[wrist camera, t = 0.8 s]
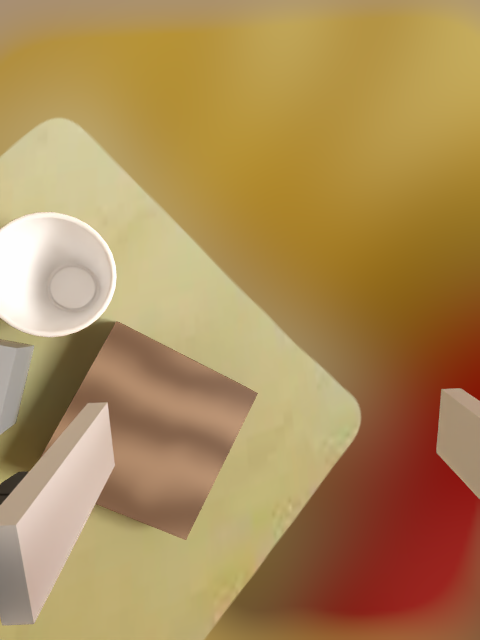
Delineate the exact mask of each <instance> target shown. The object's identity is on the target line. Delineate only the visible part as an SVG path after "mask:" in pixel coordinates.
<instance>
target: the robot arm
mask: <svg viewBox="0 0 480 640" xmlns="http://www.w3.org/2000/svg"><path fill="white" fill-rule="evenodd" d="M437 454H438V455H439V456H440V457H441V458H442V459H443V460H444V461H445V462H446V463H447V464H448V466H449V467H450V468H451V469H452V470H453V471H454V472H455V473H456V474H457V475H458V476H459V477H460V478H461V480H462V481H463V482H464V483H465V484H466V485H467V486H468V487H469V488H470V489H471V490H472V491H473V492H474V493H475V495H476V496H477V497H478V498H479V499H480V401H478V400H477V399H476V398H474V397H473V396H471V395H470V394H468V393H467V392H465V391H464V390H462V389H442V390H441V401H440V415H439V426H438V439H437ZM114 466H115V463H114V454H113V446H112V437H111V428H110V420H109V411H108V402H104V403H88V404H87V405H86V406H85V407H84V408H83V409H82V411H81V412H80V413H79V414H78V415H77V416H76V418H75V419H74V420H73V421H72V422H71V423H70V425H69V426H68V427H67V428H66V429H65V430H64V432H63V433H62V434H61V435H60V436H59V437H58V439H57V440H56V441H55V442H54V443H53V444H52V446H51V447H50V448H49V449H48V450H47V451H46V453H45V454H44V455H43V456H42V457H41V458H40V460H39V461H38V462H37V463H36V464H35V465H34V467H33V468H32V469H31V470H30V471H29V472H18V473H16V474H15V475H13V476H12V477H10V478H8V479H7V480H5V481H4V482H2V483H1V484H0V617H1V622H2V625H21V624H34V623H35V621H36V619H37V617H38V615H39V613H40V611H41V609H42V607H43V605H44V603H45V601H46V599H47V597H48V596H49V594H50V592H51V590H52V588H53V586H54V584H55V582H56V580H57V578H58V576H59V574H60V572H61V570H62V568H63V566H64V564H65V562H66V560H67V558H68V556H69V554H70V552H71V550H72V548H73V547H74V545H75V543H76V541H77V539H78V537H79V535H80V533H81V531H82V529H83V527H84V525H85V523H86V521H87V519H88V517H89V515H90V513H91V511H92V509H93V507H94V505H95V503H96V501H97V499H98V498H99V496H100V494H101V492H102V490H103V488H104V486H105V484H106V482H107V480H108V478H109V476H110V474H111V472H112V470H113V468H114Z"/></svg>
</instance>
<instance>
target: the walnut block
mask: <svg viewBox="0 0 480 640" xmlns="http://www.w3.org/2000/svg"><path fill="white" fill-rule="evenodd" d="M257 394H258V393H256V392H254V391H253V390H251V389H249V388H247V387H245V386H243V385H241V384H240V383H238V382H236V381H234V380H232V379H230V378H228V377H226V376H224V375H222V374H220V373H218V372H216V371H214V370H212V369H210V368H208V367H206V366H204V365H202V364H200V363H198V362H196V361H194V360H192V359H190V358H188V357H186V356H185V355H183V354H181V353H179V352H177V351H175V350H173V349H171V348H169V347H167V346H165V345H163V344H161V343H159V342H157V341H155V340H153V339H151V338H149V337H147V336H145V335H143V334H141V333H139V332H137V331H135V330H133V329H131V328H130V327H128V326H126V325H124V324H122V323H120V322H117V321H116V323H115V325H114V327H113V328H112V330H111V332H110V334H109V335H108V337H107V339H106V341H105V343H104V344H103V346H102V348H101V350H100V352H99V353H98V355H97V357H96V359H95V361H94V362H93V364H92V366H91V368H90V369H89V371H88V373H87V375H86V377H85V378H84V380H83V382H82V384H81V386H80V387H79V389H78V391H77V393H76V395H75V396H74V398H73V400H72V402H71V403H70V405H69V407H68V409H67V411H66V412H65V414H64V416H63V418H62V420H61V421H60V423H59V425H58V427H57V429H56V430H55V432H54V434H53V436H52V437H51V439H50V441H49V443H48V445H47V446H46V448H45V450H44V452H43V454H42V455H41V457H42V456H43V455H44V454H45V453H46V451H47V450H48V449H49V448H50V447H51V446H52V444H53V443H54V442H55V441H56V440H57V439H58V437H59V436H60V435H61V434H62V433H63V432H64V430H65V429H66V428H67V427H68V426H69V425H70V423H71V422H72V421H73V420H74V419H75V418H76V416H77V415H78V414H79V413H80V412H81V411H82V409H83V408H84V407H85V406H86V405H87V404H88V403H104V402H108V411H109V420H110V428H111V437H112V446H113V454H114V463H115V466H114V468H113V470H112V472H111V474H110V476H109V478H108V480H107V482H106V484H105V486H104V488H103V490H102V492H101V494H100V496H99V498H98V499H97V501H96V503H95V504H97V505H100V506H102V507H105V508H107V509H110V510H112V511H115V512H117V513H120V514H122V515H125V516H127V517H130V518H132V519H135V520H137V521H140V522H142V523H145V524H147V525H150V526H152V527H155V528H157V529H160V530H162V531H165V532H167V533H170V534H172V535H175V536H177V537H180V538H182V539H185V540H186V539H187V536H188V534H189V532H190V530H191V528H192V526H193V524H194V522H195V520H196V518H197V516H198V514H199V512H200V510H201V508H202V506H203V504H204V502H205V500H206V498H207V496H208V494H209V492H210V490H211V488H212V486H213V484H214V482H215V479H216V477H217V475H218V473H219V471H220V469H221V467H222V465H223V463H224V461H225V459H226V457H227V455H228V453H229V451H230V449H231V447H232V445H233V443H234V441H235V439H236V437H237V435H238V433H239V431H240V429H241V427H242V424H243V422H244V420H245V418H246V416H247V414H248V412H249V410H250V408H251V406H252V404H253V402H254V400H255V398H256V396H257ZM41 457H40V458H41ZM39 460H40V459H39Z"/></svg>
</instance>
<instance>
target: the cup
mask: <svg viewBox="0 0 480 640" xmlns="http://www.w3.org/2000/svg"><path fill="white" fill-rule="evenodd" d="M116 277H117V276H116V266H115V262H114V259H113V255H112V253H111V251H110V249H109V247H108V245H107V243H106V242H105V241H104V239H103V238H102V237H101V236H100V235H99V233H98V232H96V231H95V230H94V229H93V228H92V227H90V226H89V225H88V224H86V223H84V222H82V221H81V220H79V219H77V218H74V217H71V216H68V215H66V214H60V213H54V212H38V213H33V214H28V215H24V216H22V217H19V218H17V219H15V220H12V221H11V222H9V223H8V224H6V225H5V226H3V227H2V228H1V229H0V318H1V319H2V320H3V321H5V322H6V323H7V324H9V325H10V326H12V327H14V328H16V329H18V330H20V331H22V332H24V333H28V334H31V335H35V336H42V337H57V336H65V335H69V334H72V333H76V332H78V331H80V330H82V329H84V328H86V327H88V326H89V325H90V324H92V323H93V322H94V321H96V320H97V319H98V318H99V317H100V316H101V315H102V313H103V312H104V311H105V310H106V308H107V307H108V305H109V303H110V301H111V300H112V297H113V294H114V291H115V286H116Z"/></svg>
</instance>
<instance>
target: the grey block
mask: <svg viewBox="0 0 480 640" xmlns="http://www.w3.org/2000/svg"><path fill="white" fill-rule="evenodd" d="M33 349H34V345H28V344H23V343H17V342H12V341H6V340H1V339H0V434H2V433H3V432H4V431H6V430H7V429H8V428H10V427H11V426H12V425H14V424H15V423H16V420H17V416H18V412H19V408H20V404H21V399H22V395H23V391H24V387H25V383H26V379H27V374H28V370H29V366H30V362H31V358H32V354H33Z"/></svg>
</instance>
